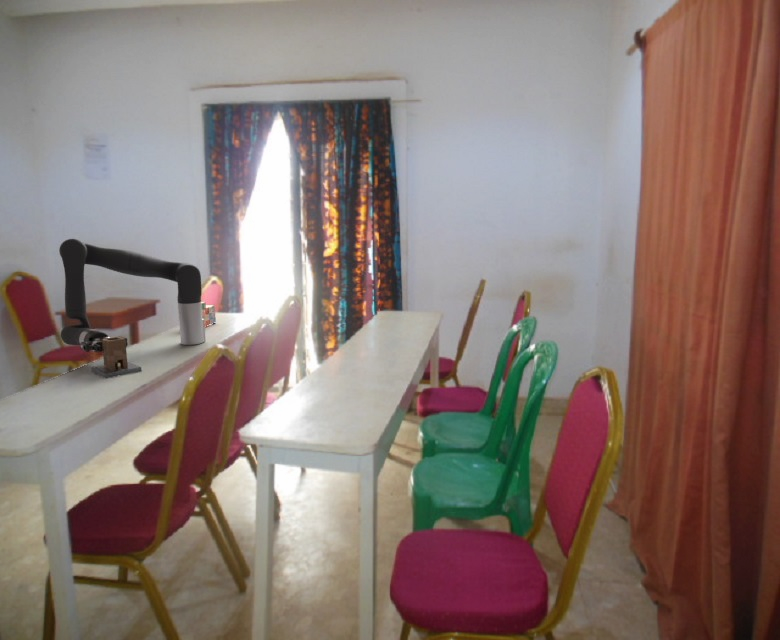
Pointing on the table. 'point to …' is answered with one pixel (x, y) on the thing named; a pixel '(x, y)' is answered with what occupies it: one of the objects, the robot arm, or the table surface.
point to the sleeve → (114, 352)
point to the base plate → (116, 370)
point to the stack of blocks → (208, 313)
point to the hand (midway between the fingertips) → (113, 346)
